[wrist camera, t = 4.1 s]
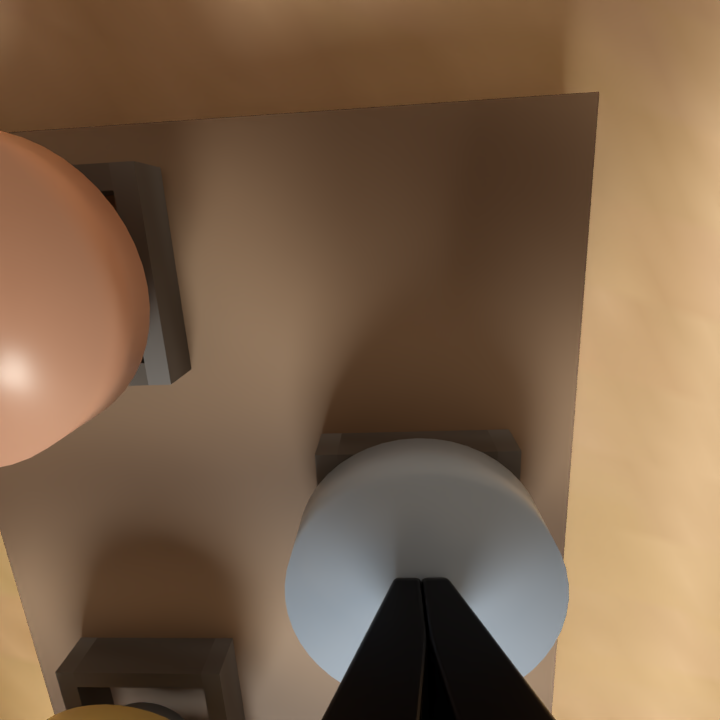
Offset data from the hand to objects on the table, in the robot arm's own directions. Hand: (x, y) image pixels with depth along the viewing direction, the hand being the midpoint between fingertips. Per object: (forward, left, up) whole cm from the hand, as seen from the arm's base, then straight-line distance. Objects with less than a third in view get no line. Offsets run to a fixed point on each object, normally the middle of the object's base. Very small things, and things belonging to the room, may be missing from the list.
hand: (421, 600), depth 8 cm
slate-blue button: (0, 0, -2) cm, 2 cm away
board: (0, +3, -4) cm, 5 cm away
